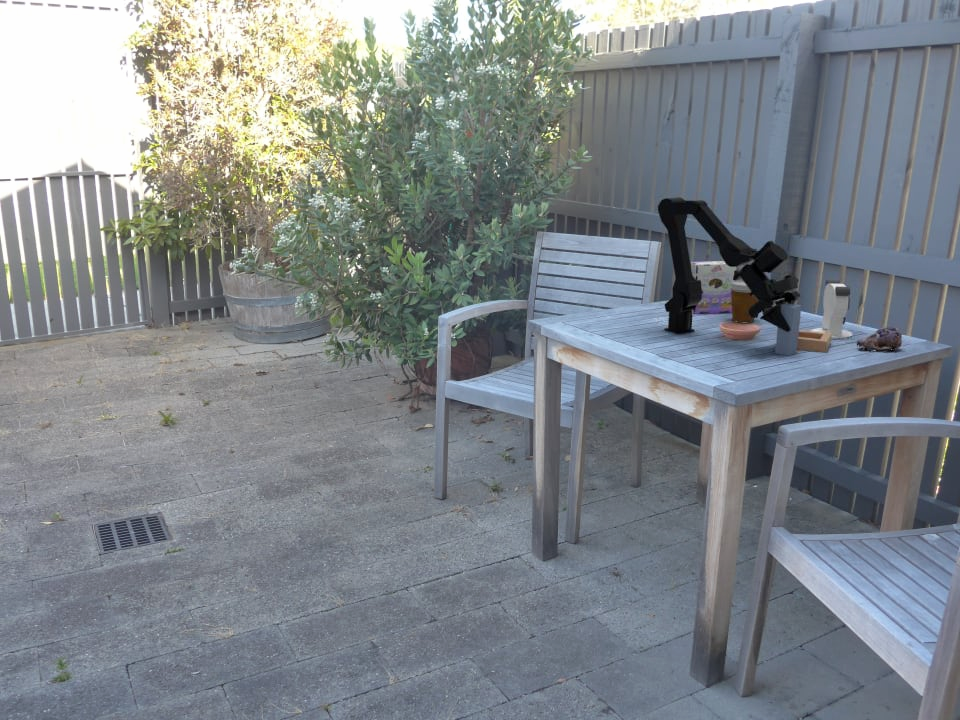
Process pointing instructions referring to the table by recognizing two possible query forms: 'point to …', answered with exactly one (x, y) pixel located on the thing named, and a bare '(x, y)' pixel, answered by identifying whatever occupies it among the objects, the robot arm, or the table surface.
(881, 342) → the skull
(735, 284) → the disposable coffee cup
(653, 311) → the table surface
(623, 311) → the table surface
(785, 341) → the post
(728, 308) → the candy box
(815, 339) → the frame
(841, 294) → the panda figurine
